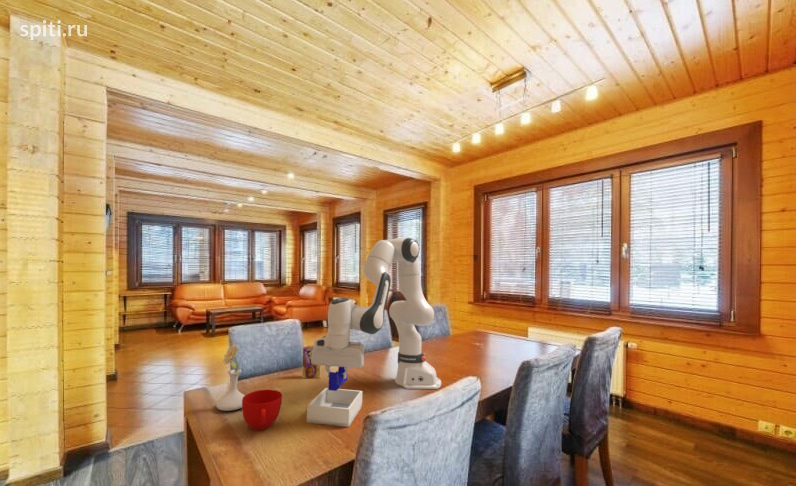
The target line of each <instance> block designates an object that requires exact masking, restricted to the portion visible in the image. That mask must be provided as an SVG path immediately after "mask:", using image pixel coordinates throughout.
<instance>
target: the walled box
mask: <svg viewBox="0 0 796 486" xmlns="http://www.w3.org/2000/svg"><path fill="white" fill-rule="evenodd" d="M362 407H363V390H358V389H357V390H356V389H355V390H354V389H344V388H343V389H342V388H339V389H338V390H337V391H333V390H328V387H325V388H324V389H323V390H321V391H320V393H318V394H317V395H316V396H315V397H314V398H313V399H312V400H311V401H310V402H309V403H308V404H307V407H306V408H307V409H306V423H307V424H317V425H326V426H335V427H345V428H349V427H350V425H351V424H352V423H353V421H354V419H355V418H356V417H357V416H358V413H359V412H360V410H361V409H362Z"/></svg>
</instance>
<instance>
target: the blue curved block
mask: <svg viewBox="0 0 796 486" xmlns="http://www.w3.org/2000/svg"><path fill="white" fill-rule="evenodd" d="M345 371H346V370H344V367H338V371H335V372H334V371H331V372H330V373H329V378H328V387H327V388H328V390H333V391H337V390H338V389H341V387H342V386H343V384H344V383H345V382H347V380H348V372H347V373H346V379H341V377H342V376H341V374H342V373H344V372H345Z"/></svg>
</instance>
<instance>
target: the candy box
mask: <svg viewBox="0 0 796 486" xmlns="http://www.w3.org/2000/svg"><path fill="white" fill-rule="evenodd" d="M314 347H315V345H303V347H302V370H301V372H302V375H301V377H302V378H301V379H320V378H321V375H322V365H313V364H312V362H311V356H312V350H313V348H314Z"/></svg>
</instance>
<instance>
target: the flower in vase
mask: <svg viewBox="0 0 796 486" xmlns="http://www.w3.org/2000/svg"><path fill="white" fill-rule="evenodd" d="M238 350H239V346H238V344H237V343H235V344H234V343H233V344H232V345H231V346H230V347H228V348H227V351H226V354H224V358H223V361H222V362H223V363H224V365H229V364H230V366H231V367H232V368H234V369H230V370H228V371H227V374H228V375H229V378H230V389H229V391H228V392H227V393H226V394H225V395H224V396H222V397H221V398H220V399H219V400H218V401H217V403H216V408H217V409H218V410H220V411H224V412H225V411H228V412H230V411H231V412H232V411H236V410H239V409H242V399H243V397H244V396H245V395H246V394H244V393H242V392H240V391H239V390H238V379H239V376H240V375H241V373H242V369H238V368H239V364H238V360H237V358H236V356H237V353H238V352H239V351H238ZM234 360H235V362H236V363H235V362H234Z"/></svg>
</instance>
